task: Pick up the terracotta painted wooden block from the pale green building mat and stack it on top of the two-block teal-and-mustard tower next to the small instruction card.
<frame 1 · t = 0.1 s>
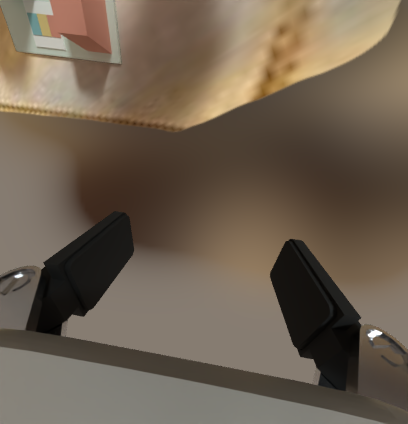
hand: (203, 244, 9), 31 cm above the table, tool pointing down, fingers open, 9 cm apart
brick: (95, 24, 27), resting on mat
instruction card: (45, 26, 28), resting on mat
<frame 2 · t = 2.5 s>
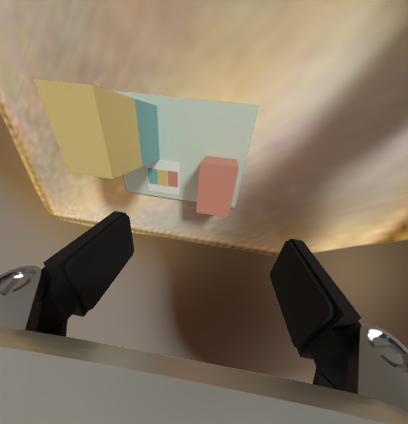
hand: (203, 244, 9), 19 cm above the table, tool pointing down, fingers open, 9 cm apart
brick: (218, 179, 26), resting on mat
instruction card: (163, 177, 27), resting on mat
mat: (180, 156, 25), on the table
tower base: (143, 132, 24), resting on mat
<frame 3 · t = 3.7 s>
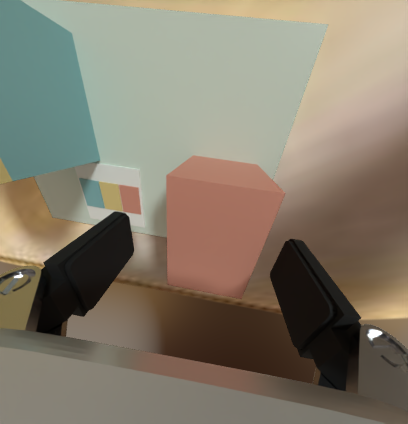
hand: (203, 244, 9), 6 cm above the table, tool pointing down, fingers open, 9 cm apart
brick: (217, 203, 13), resting on mat
instruction card: (113, 196, 14), resting on mat
mat: (141, 156, 12), on the table
tower base: (57, 103, 11), resting on mat
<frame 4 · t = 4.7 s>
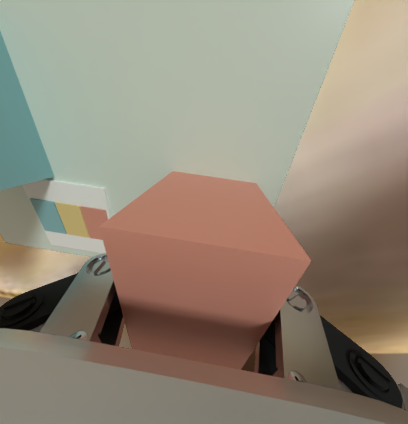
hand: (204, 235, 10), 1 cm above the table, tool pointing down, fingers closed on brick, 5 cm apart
brick: (206, 228, 10), resting on mat, touching gripper
instruction card: (76, 219, 11), resting on mat
mat: (107, 171, 10), on the table
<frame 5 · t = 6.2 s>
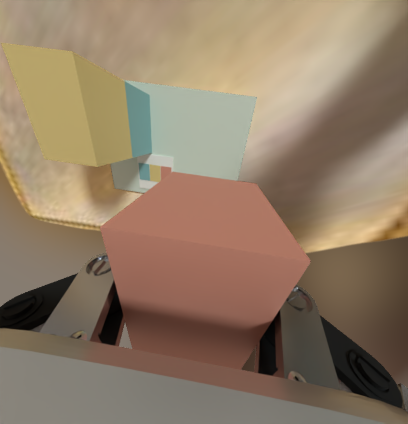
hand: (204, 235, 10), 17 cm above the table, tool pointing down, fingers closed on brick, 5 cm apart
brick: (206, 229, 10), point 16 cm above the table, touching gripper
instruction card: (155, 173, 25), resting on mat
mat: (174, 150, 24), on the table
tower base: (134, 123, 22), resting on mat
when the fingers open (15 cm above the table, at t = 8.0 s): brick drops 1 cm, resting on tower base.
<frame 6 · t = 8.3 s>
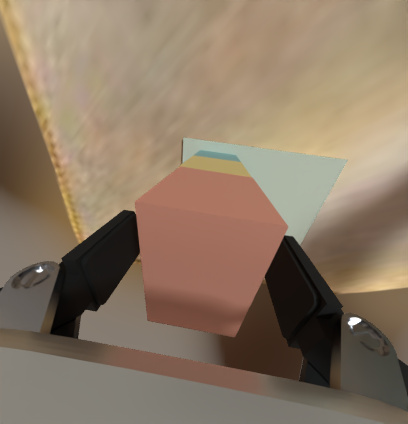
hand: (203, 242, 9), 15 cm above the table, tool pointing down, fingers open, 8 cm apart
brick: (208, 218, 12), point 12 cm above the table, touching tower base
mat: (248, 201, 24), on the table
tower base: (214, 178, 22), resting on mat, touching brick
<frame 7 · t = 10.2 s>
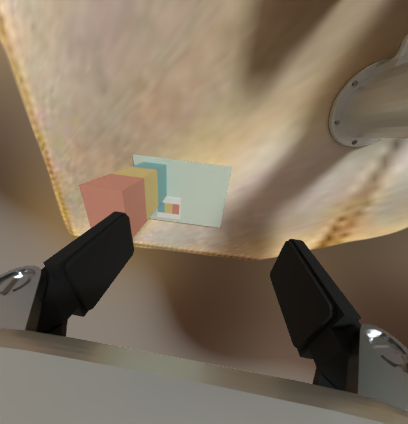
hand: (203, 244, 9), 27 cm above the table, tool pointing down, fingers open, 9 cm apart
brick: (130, 198, 24), point 12 cm above the table, touching tower base
instruction card: (168, 207, 38), resting on mat
mat: (181, 194, 36), on the table
tower base: (156, 179, 35), resting on mat, touching brick
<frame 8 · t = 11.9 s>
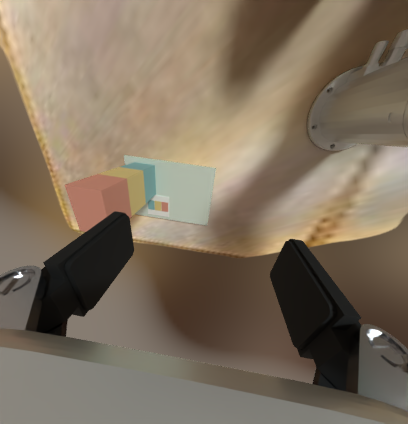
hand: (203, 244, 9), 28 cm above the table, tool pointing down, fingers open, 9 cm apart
brick: (116, 196, 26), point 12 cm above the table, touching tower base
instruction card: (158, 205, 40), resting on mat
mat: (169, 193, 39), on the table
tower base: (145, 178, 37), resting on mat, touching brick
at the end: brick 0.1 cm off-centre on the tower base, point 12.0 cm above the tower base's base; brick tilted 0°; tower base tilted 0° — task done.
